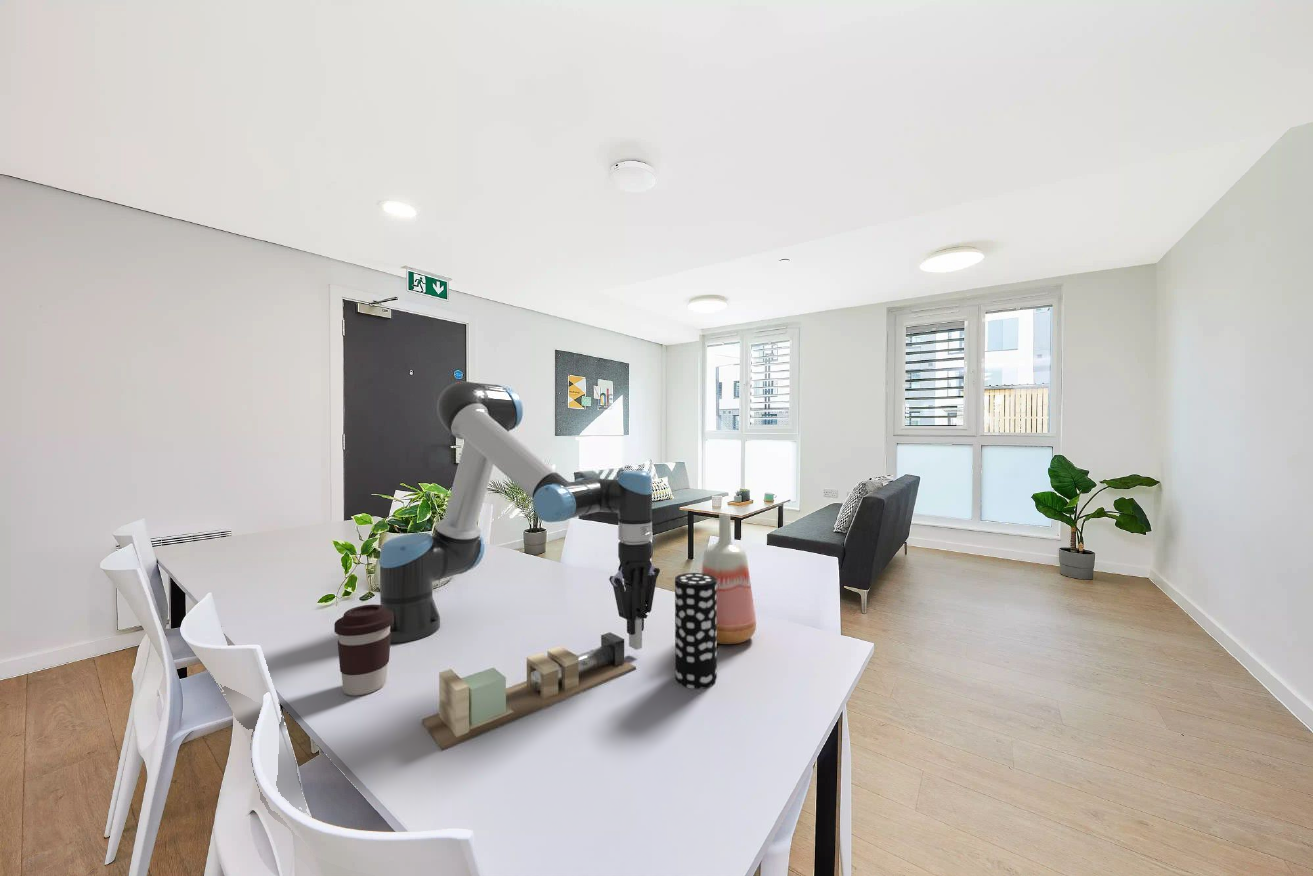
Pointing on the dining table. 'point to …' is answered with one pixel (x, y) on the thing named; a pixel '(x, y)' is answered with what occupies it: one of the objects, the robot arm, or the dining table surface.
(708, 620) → the spotted tube
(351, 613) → the coffee cup
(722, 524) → the vase
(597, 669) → the jig
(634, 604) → the robot arm
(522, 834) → the dining table surface
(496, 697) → the block
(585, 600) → the dining table surface
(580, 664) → the shaft
